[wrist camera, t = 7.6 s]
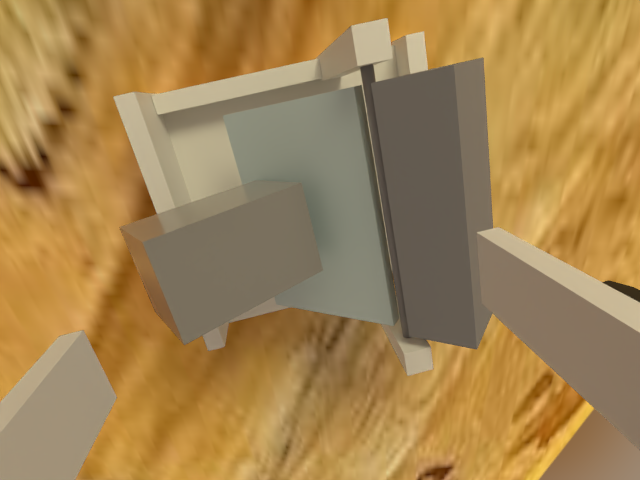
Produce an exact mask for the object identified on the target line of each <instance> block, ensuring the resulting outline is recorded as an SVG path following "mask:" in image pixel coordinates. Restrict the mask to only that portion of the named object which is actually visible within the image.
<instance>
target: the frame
mask: <svg viewBox="0 0 640 480" xmlns="http://www.w3.org/2000/svg"><path fill="white" fill-rule="evenodd" d="M425 70H428V67H427V57H426V47H425V37H424V31H423V32H419V33H414V34H410V35H405V36H403V37H401V38H399V39H397V40H395V41H393V42H392V46H391V41H390V33H389V26H388V18H385V19H380V20H376V21H371V22H366V23H362V24H357V25H353V26H350V27H349V28H348V29H347V30H346V31H345V32H344V33H343V34H342V35H341V36H340V37H338V38H337V39H336V40H335V41H334V42H333V43H332V44H331V45H330V46H329V47H328V48H327V49H325V50H324V51H323V52H322V53H321V54H320V55H319V56H318V57H317V58H316V59H314V60H310V61H305V62H300V63H296V64H291V65H287V66H282V67H278V68H273V69H269V70H264V71H260V72H255V73H251V74H246V75H242V76H237V77H232V78H228V79H223V80H219V81H214V82H210V83H205V84H201V85H196V86H192V87H187V88H183V89H178V90H174V91H169V92H165V93H160V94H153V93H142V92H132V93H127V94H122V95H118V96H113V97H114V100H115V103H116V106H117V108H118V111H119V114H120V116H121V119H122V122H123V124H124V127H125V130H126V132H127V135H128V138H129V140H130V143H131V146H132V148H133V151H134V154H135V156H136V159H137V162H138V164H139V167H140V170H141V172H142V175H143V178H144V180H145V183H146V186H147V188H148V191H149V194H150V196H151V199H152V202H153V204H154V207H155V210H156V213H157V214H159V213H162V212H164V211H167V210H170V209H173V208H176V207H179V206H182V205H185V204H188V203H191V202H193V201H196V200H199V199H202V198H205V197H208V196H211V195H214V194H217V193H219V192H222V191H225V190H228V189H231V188H234V187H237V186H240V185H242V182H241V179H240V175H239V172H238V168H237V165H236V161H235V158H234V154H233V150H232V147H231V143H230V140H229V136H228V133H227V129H226V126H225V122H224V119H223V115H228V114H232V113H236V112H241V111H245V110H250V109H255V108H259V107H264V106H268V105H273V104H277V103H282V102H286V101H291V100H295V99H300V98H305V97H309V96H314V95H318V94H323V93H327V92H332V91H336V90H341V89H345V88H350V87H354V86H359V85H362V89H363V95H364V101H365V107H366V114H367V120H368V126H369V132H370V138H371V145H372V151H373V157H374V163H375V170H376V176H377V182H378V188H379V195H380V201H381V207H382V213H383V220H384V226H385V232H386V238H387V245H388V251H389V257H390V263H391V270H392V272H393V278H394V284H395V290H396V301H397V307H398V313H399V320H398V321H397V322H396V324H395V325H394V326H390V325H385V324H381V325H382V327H383V329H384V331H385V333H386V335H387V337H388V339H389V341H390V343H391V345H392V347H393V349H394V351H395V353H396V354H397V356H398V358H399V360H400V362H401V364H402V366H403V368H404V370H405V372H406V374H407V376H409V375H413V374H417V373H421V372H424V371H428V370H432V369H433V361H432V353H431V347H430V345H429V344H428V342H427V341H426V339H421V338H416V337H411V336H409V330H408V323H407V317H406V310H405V303H404V297H403V290H402V284H401V277H400V271H399V264H398V257H397V251H396V244H395V238H394V231H393V225H392V218H391V211H390V205H389V198H388V192H387V185H386V179H385V172H384V165H383V159H382V152H381V146H380V139H379V133H378V126H377V120H376V113H375V106H374V100H373V93H372V87H371V83H374V82H378V81H382V80H386V79H390V78H395V77H399V76H403V75H407V74H411V73H416V72H420V71H425ZM286 308H290V307H287V306H282V305H276V301H275V298H274V297H273V298H271V299H269V300H267V301H265V302H264V303H262V304H260V305H258V306H256V307H254V308H252V309H251V310H249V311H247V312H245V313H243V314H241V315H239V316H238V317H236V318H234V319H232V320H230V321H228V322H226V323H224V324H223V325H221V326H219V327H217V328H215V329H213V330H211V331H210V332H208V333H206V334H204V335H202V336H203V338H204V341H205V344H206V346H207V349H208V351H211V350H215V349H218V348H222V347H225V343H226V337H227V331H228V325H229V323H231V322H235V321H239V320H243V319H247V318H250V317H254V316H258V315H262V314H266V313H270V312H274V311H278V310H282V309H286Z"/></svg>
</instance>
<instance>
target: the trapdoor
mask: <svg viewBox="0 0 640 480" xmlns="http://www.w3.org/2000/svg"><path fill="white" fill-rule="evenodd" d="M371 87H372V93H373V100H374V106H375V113H376V120H377V126H378V133H379V139H380V146H381V152H382V159H383V165H384V172H385V179H386V185H387V192H388V198H389V205H390V211H391V218H392V225H393V231H394V238H395V244H396V251H397V257H398V264H399V271H400V277H401V284H402V290H403V297H404V303H405V310H406V317H407V323H408V330H409V336H411V337H416V338H421V339H426V340H431V341H437V342H442V343H447V344H452V345H457V346H462V347H467V348H472V349H477V348H478V346H479V344H480V341H481V339H482V336H483V334H484V332H485V329H486V327H487V325H488V322H489V320H490V318H491V315H492V312H490V311H489V310H488V309H487V308H486V307H485V306H484V305H483V304H482V300H481V286H480V272H479V259H478V245H477V232H481V231H485V230H489V229H493V219H492V201H491V184H490V166H489V148H488V130H487V113H486V95H485V77H484V59H483V58H479V59H475V60H470V61H466V62H461V63H457V64H452V65H448V66H443V67H439V68H434V69H430V70H425V71H420V72H416V73H411V74H407V75H403V76H399V77H395V78H390V79H386V80H382V81H378V82H374V83H371ZM223 119H224V122H225V126H226V129H227V133H228V136H229V140H230V143H231V147H232V150H233V154H234V158H235V161H236V165H237V168H238V172H239V175H240V179H241V182H242V185H243V184H246V183H248V182H251V181H254V180H265V181H283V182H301V183H302V187H303V191H304V195H305V199H306V203H307V207H308V211H309V215H310V219H311V223H312V227H313V231H314V235H315V239H316V244H317V248H318V252H319V256H320V260H321V264H322V268H323V271H321V272H319V273H317V274H316V275H314V276H312V277H310V278H308V279H306V280H304V281H303V282H301V283H299V284H297V285H295V286H293V287H291V288H290V289H288V290H286V291H284V292H282V293H280V294H278V295H277V296H275V297H274V298H275V301H276V305H282V306H287V307H293V308H298V309H303V310H309V311H314V312H320V313H325V314H330V315H336V316H341V317H347V318H352V319H358V320H363V321H368V322H374V323H379V324H385V325H390V326H394V325H395V324H396V322H397V321H398V320H399V313H398V307H397V301H396V295H395V288H394V282H393V276H392V270H391V263H390V257H389V251H388V245H387V238H386V232H385V226H384V220H383V213H382V207H381V201H380V195H379V188H378V182H377V176H376V170H375V163H374V157H373V151H372V145H371V138H370V132H369V126H368V120H367V114H366V107H365V101H364V95H363V89H362V85H359V86H354V87H350V88H345V89H341V90H336V91H332V92H327V93H323V94H318V95H314V96H309V97H305V98H300V99H295V100H291V101H286V102H282V103H277V104H273V105H268V106H264V107H259V108H255V109H250V110H245V111H241V112H236V113H232V114H228V115H223Z"/></svg>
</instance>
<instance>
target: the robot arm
mask: <svg viewBox="0 0 640 480" xmlns="http://www.w3.org/2000/svg"><path fill="white" fill-rule="evenodd" d="M477 245H478V259H479V272H480V286H481V300H482V304H483V305H484V306H485V307H486V308H487V309H488V310H489V311H490V312H492V313H493V314H494V315H495V316H496V317H497V318H498V319H499V320H500V321H501V322H502V323H503V324H504V325H506V326H507V327H508V328H509V329H510V330H511V331H512V332H513V333H514V334H515V335H516V336H517V337H518V338H520V339H521V340H522V341H523V342H524V343H525V344H526V345H527V346H528V347H529V348H530V349H531V350H532V351H533V352H535V353H536V354H537V355H538V356H539V357H540V358H541V359H542V360H543V361H544V362H545V363H546V364H547V365H549V366H550V367H551V368H552V369H553V370H554V371H555V372H556V373H557V374H558V375H559V376H560V377H561V378H563V379H564V380H565V381H566V382H567V383H568V384H569V385H570V386H571V387H572V388H573V389H574V390H575V391H577V392H578V393H579V394H580V395H581V396H582V397H583V398H584V399H585V400H586V401H587V402H588V403H589V404H590V405H592V406H593V407H594V408H595V409H596V410H597V411H598V412H599V413H600V414H601V415H602V416H603V417H604V418H606V419H607V420H608V421H609V422H610V423H611V424H612V425H613V426H614V427H615V428H617V429H618V431H620V432H621V433H622V434H623V435H624V436H625V437H626V438H627V439H628V440H629V441H631V443H632V444H634V445H635V446H636V447H637V448H638V449H639V450H640V290H638V289H636V288H634V287H631V286H627V285H623V284H620V283H616V282H613V281H605V282H600V281H598V280H597V279H595V278H593V277H591V276H589V275H587V274H585V273H583V272H582V271H580V270H578V269H576V268H574V267H572V266H570V265H568V264H567V263H565V262H563V261H561V260H559V259H557V258H555V257H553V256H552V255H550V254H548V253H546V252H544V251H542V250H540V249H539V248H537V247H535V246H533V245H531V244H529V243H527V242H525V241H524V240H522V239H520V238H518V237H516V236H514V235H512V234H510V233H509V232H507V231H505V230H503V229H501V228H499V227H497V228H493V229H489V230H485V231H481V232H477ZM116 398H117V397H116V395H115V393H114V390H113V388H112V386H111V384H110V382H109V380H108V378H107V376H106V374H105V372H104V370H103V368H102V366H101V364H100V362H99V360H98V358H97V356H96V354H95V352H94V350H93V348H92V346H91V344H90V342H89V340H88V338H87V336H86V334H85V332H84V330H82V331H78V332H74V333H70V334H66V335H62V336H59V337H58V338H57V339H56V340H55V341H54V343H53V344H52V345H51V346H50V347H49V348H48V349H47V350H46V352H45V353H44V354H43V355H42V356H41V357H40V358H39V359H38V360H37V362H36V363H35V364H34V365H33V366H32V367H31V368H30V369H29V371H28V372H27V373H26V374H25V375H24V376H23V377H22V378H21V380H20V381H19V382H18V383H17V384H16V385H15V386H14V387H13V388H12V390H11V391H10V392H9V393H8V394H7V395H6V396H5V397H4V399H3V400H2V401H1V402H0V480H75V479H76V477H77V475H78V473H79V471H80V469H81V467H82V465H83V463H84V461H85V459H86V457H87V455H88V453H89V451H90V449H91V447H92V446H93V444H94V442H95V440H96V438H97V436H98V434H99V432H100V430H101V428H102V426H103V424H104V422H105V420H106V418H107V416H108V414H109V412H110V410H111V408H112V406H113V404H114V402H115V400H116Z"/></svg>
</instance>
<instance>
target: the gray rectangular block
mask: <svg viewBox="0 0 640 480" xmlns="http://www.w3.org/2000/svg"><path fill="white" fill-rule="evenodd" d="M119 228H120V230H121V233H122V235H123V237H124V240H125V242H126V244H127V247H128V249H129V252H130V254H131V256H132V259H133V261H134V263H135V266H136V268H137V270H138V273H139V275H140V277H141V280H142V282H143V284H144V287H145V289H146V291H147V294H148V296H149V299H150V301H151V303H152V306H153V308H154V310H155V312H156V313H157V315H158V316H159V317H160V318H161V319H162V320H163V321H164V323H165V324H166V325H167V326H168V327H169V328H170V329H171V330H172V332H173V333H174V334H175V335H176V336H177V337H178V338H179V340H180V341H181V342H182V343H183V344H184V345H185V344H187V343H189V342H191V341H193V340H195V339H197V338H198V337H200V336H202V335H204V334H206V333H208V332H210V331H211V330H213V329H215V328H217V327H219V326H221V325H223V324H224V323H226V322H228V321H230V320H232V319H234V318H236V317H238V316H239V315H241V314H243V313H245V312H247V311H249V310H251V309H252V308H254V307H256V306H258V305H260V304H262V303H264V302H265V301H267V300H269V299H271V298H273V297H275V296H277V295H278V294H280V293H282V292H284V291H286V290H288V289H290V288H291V287H293V286H295V285H297V284H299V283H301V282H303V281H304V280H306V279H308V278H310V277H312V276H314V275H316V274H317V273H319V272H321V271H323V268H322V264H321V260H320V256H319V252H318V248H317V244H316V239H315V235H314V231H313V227H312V223H311V219H310V215H309V211H308V207H307V203H306V199H305V195H304V191H303V187H302V183H301V182H283V181H265V180H254V181H251V182H248V183H246V184H243V185H240V186H237V187H234V188H231V189H228V190H225V191H222V192H219V193H217V194H214V195H211V196H208V197H205V198H202V199H199V200H196V201H193V202H191V203H188V204H185V205H182V206H179V207H176V208H173V209H170V210H167V211H164V212H162V213H159V214H156V215H153V216H150V217H147V218H144V219H141V220H138V221H135V222H133V223H130V224H127V225H124V226H121V227H119Z"/></svg>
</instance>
